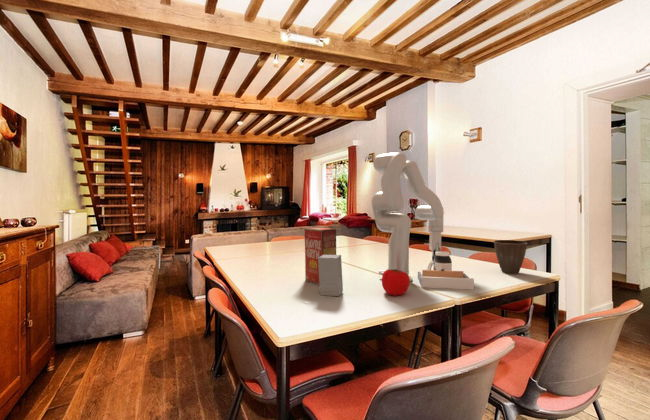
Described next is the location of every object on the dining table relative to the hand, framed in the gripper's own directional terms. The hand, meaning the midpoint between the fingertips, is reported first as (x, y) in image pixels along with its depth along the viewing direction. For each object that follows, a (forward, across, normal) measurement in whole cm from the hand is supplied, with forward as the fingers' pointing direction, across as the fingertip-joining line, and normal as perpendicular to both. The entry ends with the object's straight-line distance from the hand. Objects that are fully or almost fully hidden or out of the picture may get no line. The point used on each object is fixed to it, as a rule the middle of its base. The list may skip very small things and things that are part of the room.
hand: (435, 263), depth 170 cm
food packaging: (+4, +30, -56) cm, 64 cm away
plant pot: (+4, -2, +37) cm, 37 cm away
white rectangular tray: (+4, +25, 0) cm, 25 cm away
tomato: (+4, +44, -22) cm, 50 cm away
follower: (+4, +21, 0) cm, 22 cm away
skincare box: (+4, +49, -48) cm, 69 cm away
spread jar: (+4, +8, 0) cm, 9 cm away
